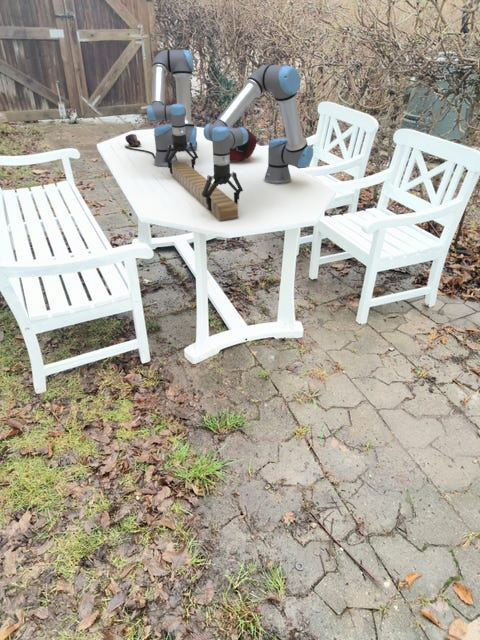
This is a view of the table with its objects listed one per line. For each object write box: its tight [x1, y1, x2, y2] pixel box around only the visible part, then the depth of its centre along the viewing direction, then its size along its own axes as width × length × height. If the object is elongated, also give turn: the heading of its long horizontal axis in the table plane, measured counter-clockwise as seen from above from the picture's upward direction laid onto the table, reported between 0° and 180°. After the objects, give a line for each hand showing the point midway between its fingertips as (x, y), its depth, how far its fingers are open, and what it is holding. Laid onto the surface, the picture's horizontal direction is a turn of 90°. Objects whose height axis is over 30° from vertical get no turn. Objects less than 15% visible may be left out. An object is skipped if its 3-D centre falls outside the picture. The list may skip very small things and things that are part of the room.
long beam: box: [171, 161, 239, 222], centre depth 242 cm, size 80×9×7 cm, turn 24°
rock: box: [125, 133, 142, 147], centre depth 332 cm, size 12×9×10 cm
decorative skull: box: [230, 126, 258, 162], centre depth 296 cm, size 21×24×25 cm
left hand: (182, 172), depth 267 cm, fingers open, 13 cm apart
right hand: (223, 208), depth 218 cm, fingers open, 13 cm apart
